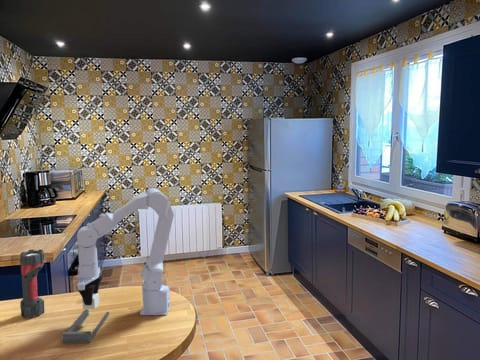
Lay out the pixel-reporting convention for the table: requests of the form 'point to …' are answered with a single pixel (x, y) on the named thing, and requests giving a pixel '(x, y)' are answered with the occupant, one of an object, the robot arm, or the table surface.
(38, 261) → the flashlight
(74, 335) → the rail
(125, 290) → the table surface
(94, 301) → the block
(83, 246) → the robot arm
